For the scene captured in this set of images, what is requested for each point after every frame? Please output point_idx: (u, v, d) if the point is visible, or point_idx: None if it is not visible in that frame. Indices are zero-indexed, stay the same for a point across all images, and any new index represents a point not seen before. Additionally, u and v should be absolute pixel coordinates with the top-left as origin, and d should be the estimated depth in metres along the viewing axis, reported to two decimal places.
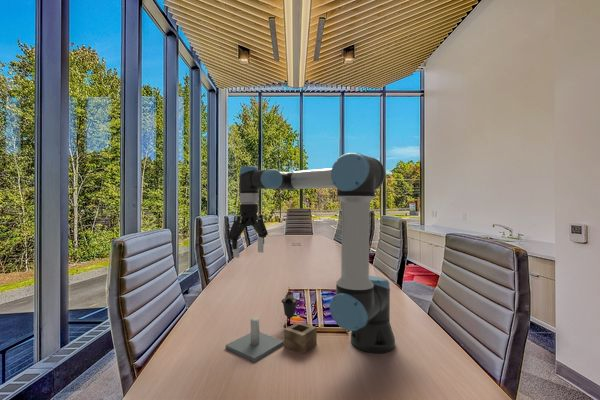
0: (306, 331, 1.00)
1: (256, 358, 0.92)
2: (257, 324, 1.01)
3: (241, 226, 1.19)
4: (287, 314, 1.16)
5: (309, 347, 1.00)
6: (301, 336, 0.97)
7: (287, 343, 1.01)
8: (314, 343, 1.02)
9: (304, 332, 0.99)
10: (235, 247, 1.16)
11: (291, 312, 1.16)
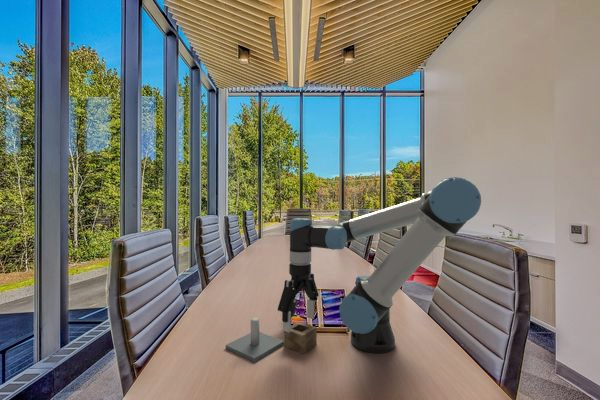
0: (306, 331, 1.00)
1: (256, 358, 0.92)
2: (257, 324, 1.01)
3: (292, 292, 0.99)
4: None
5: (309, 347, 1.00)
6: (301, 336, 0.97)
7: (287, 343, 1.01)
8: (314, 343, 1.02)
9: (304, 332, 0.99)
10: (286, 320, 0.96)
11: (291, 312, 1.16)
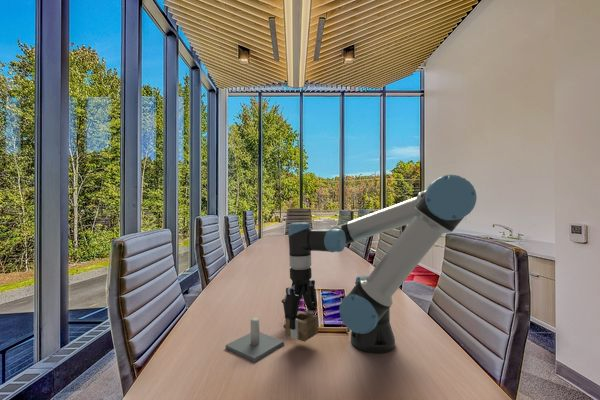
0: (307, 319, 0.99)
1: (256, 358, 0.92)
2: (257, 324, 1.01)
3: (296, 299, 0.99)
4: None
5: (311, 335, 0.99)
6: (302, 324, 0.97)
7: (289, 332, 1.00)
8: (316, 331, 1.02)
9: (305, 320, 0.99)
10: (294, 327, 0.97)
11: None
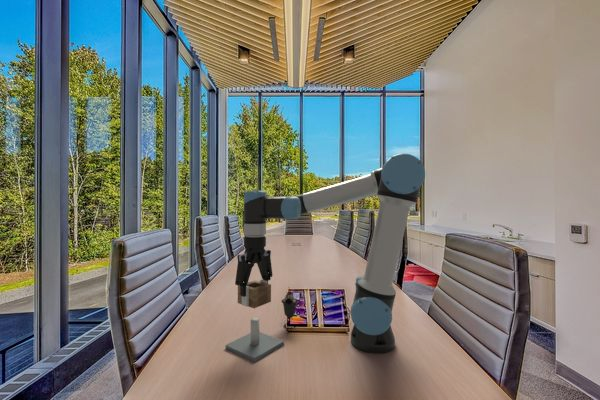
0: (259, 287, 0.99)
1: (256, 358, 0.92)
2: (257, 324, 1.01)
3: (248, 266, 0.99)
4: (287, 314, 1.16)
5: (262, 303, 0.99)
6: (253, 291, 0.96)
7: (240, 299, 1.00)
8: (268, 300, 1.01)
9: (257, 287, 0.98)
10: (244, 294, 0.97)
11: (291, 312, 1.16)
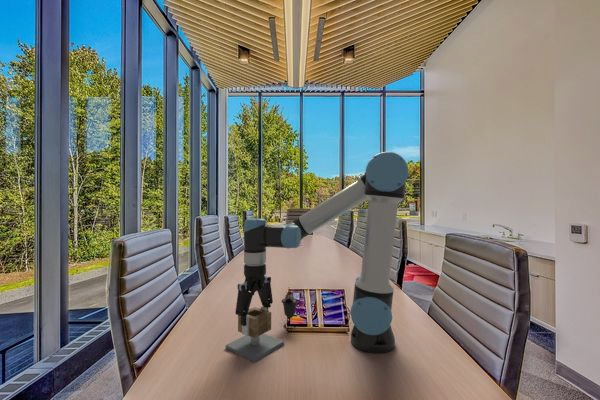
0: (259, 316, 0.99)
1: (256, 358, 0.92)
2: None
3: (248, 295, 0.99)
4: (287, 314, 1.16)
5: (262, 332, 0.99)
6: (253, 320, 0.96)
7: (240, 328, 1.00)
8: (268, 328, 1.01)
9: (257, 316, 0.98)
10: (244, 323, 0.97)
11: (291, 312, 1.16)
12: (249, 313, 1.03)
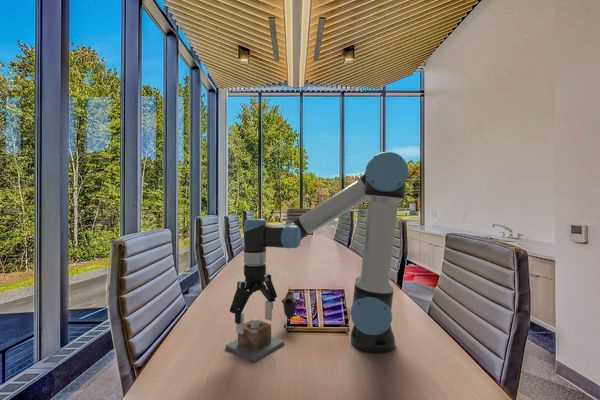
0: (259, 328, 0.99)
1: (256, 358, 0.92)
2: (257, 324, 1.01)
3: (246, 293, 0.98)
4: (287, 314, 1.16)
5: (262, 344, 0.99)
6: (253, 333, 0.96)
7: (240, 341, 1.00)
8: (268, 340, 1.01)
9: (257, 329, 0.98)
10: (239, 321, 0.95)
11: (291, 312, 1.16)
12: (249, 325, 1.03)
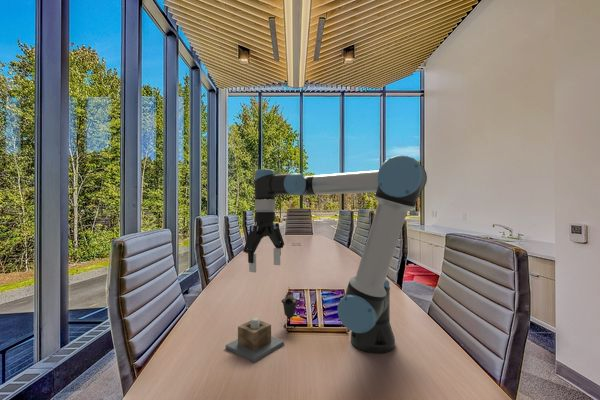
0: (259, 328, 0.99)
1: (256, 358, 0.92)
2: (257, 324, 1.01)
3: (257, 237, 1.06)
4: (287, 314, 1.16)
5: (262, 344, 0.99)
6: (253, 333, 0.96)
7: (240, 341, 1.00)
8: (268, 340, 1.01)
9: (257, 329, 0.98)
10: (252, 261, 1.03)
11: (291, 312, 1.16)
12: (249, 325, 1.03)
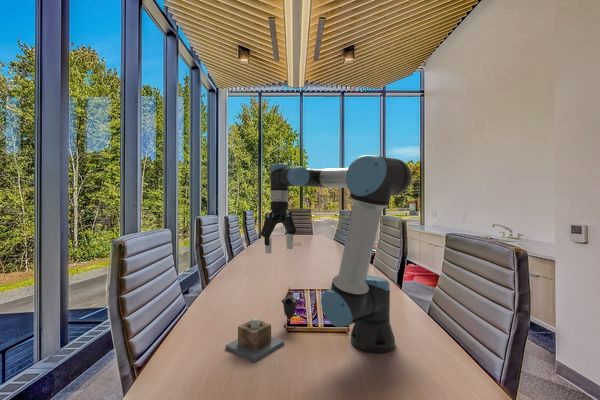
0: (259, 328, 0.99)
1: (256, 358, 0.92)
2: (257, 324, 1.01)
3: (273, 223, 1.22)
4: (287, 314, 1.16)
5: (262, 344, 0.99)
6: (253, 333, 0.96)
7: (240, 341, 1.00)
8: (268, 340, 1.01)
9: (257, 329, 0.98)
10: (267, 243, 1.19)
11: (291, 312, 1.16)
12: (249, 325, 1.03)
